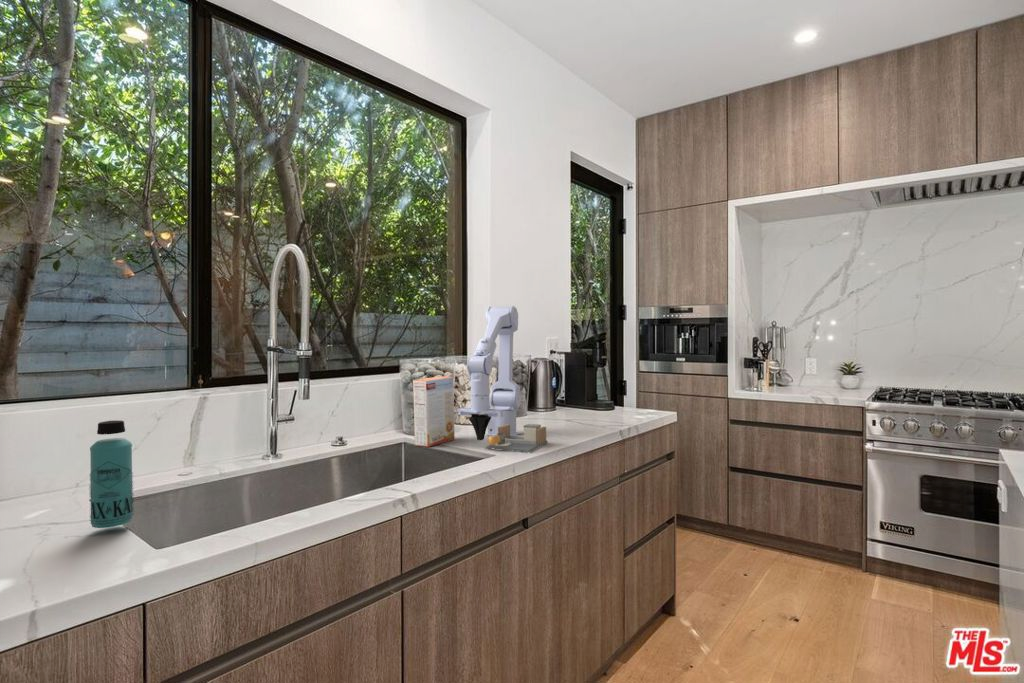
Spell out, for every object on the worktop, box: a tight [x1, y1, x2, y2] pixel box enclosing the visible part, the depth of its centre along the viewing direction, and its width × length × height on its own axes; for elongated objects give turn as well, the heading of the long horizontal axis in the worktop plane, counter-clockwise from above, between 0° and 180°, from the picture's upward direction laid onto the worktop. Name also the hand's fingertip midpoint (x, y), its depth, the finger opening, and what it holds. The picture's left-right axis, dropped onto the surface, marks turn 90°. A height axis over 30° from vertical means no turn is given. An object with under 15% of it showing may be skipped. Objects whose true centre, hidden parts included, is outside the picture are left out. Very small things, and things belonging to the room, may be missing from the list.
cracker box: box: [412, 375, 455, 448], centre depth 179 cm, size 14×6×21 cm, turn 149°
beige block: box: [523, 423, 542, 441], centre depth 174 cm, size 4×4×5 cm
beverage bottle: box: [88, 420, 135, 529], centre depth 101 cm, size 6×7×20 cm
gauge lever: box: [488, 435, 500, 445], centre depth 167 cm, size 6×2×2 cm, turn 156°
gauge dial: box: [492, 433, 511, 447], centre depth 171 cm, size 6×6×3 cm
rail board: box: [486, 424, 548, 453], centre depth 172 cm, size 14×15×5 cm
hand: (480, 439), depth 169 cm, fingers closed
